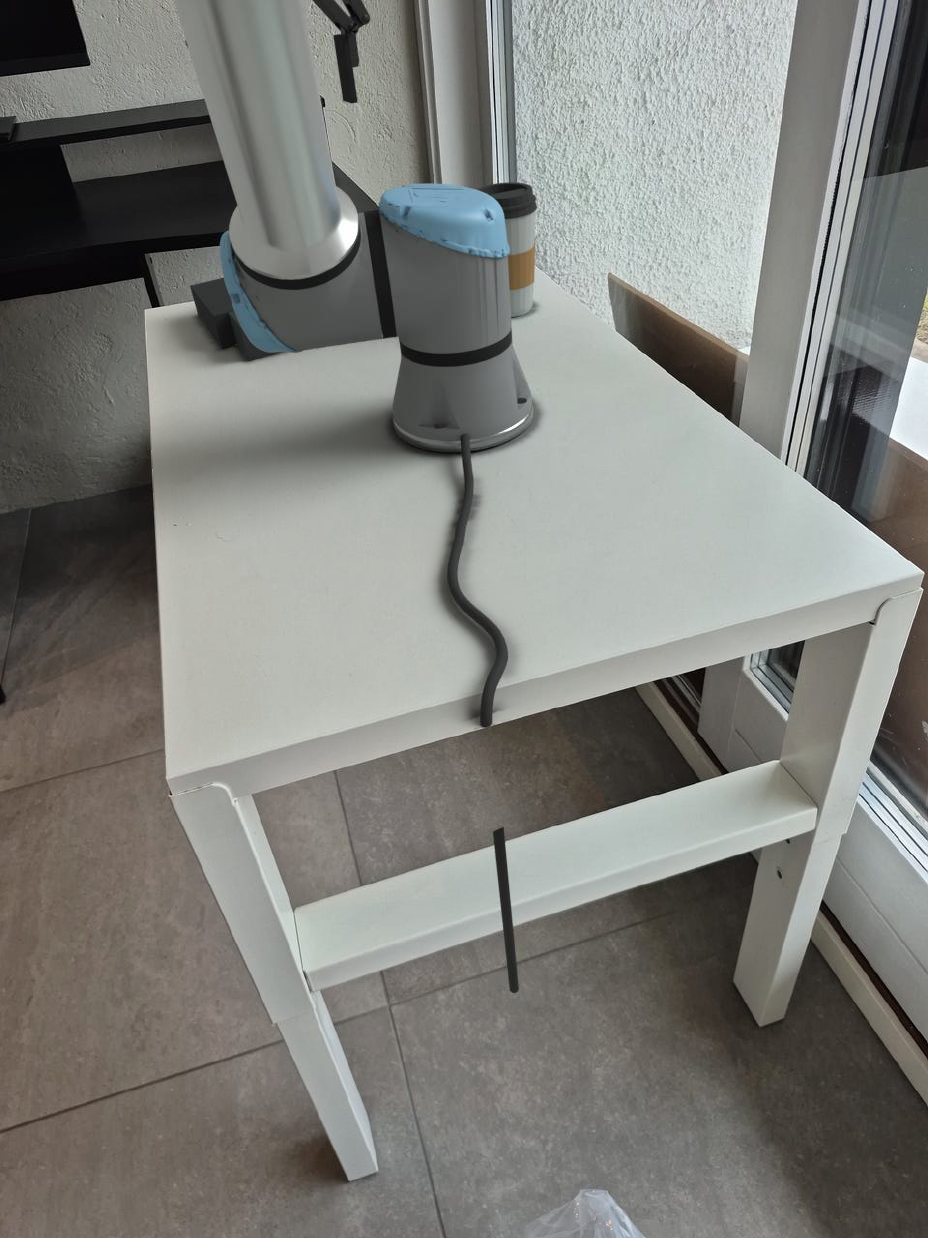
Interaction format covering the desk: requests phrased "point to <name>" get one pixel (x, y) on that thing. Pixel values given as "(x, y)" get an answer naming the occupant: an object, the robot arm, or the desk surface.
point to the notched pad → (215, 310)
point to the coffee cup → (518, 240)
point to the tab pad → (245, 340)
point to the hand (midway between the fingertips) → (295, 112)
